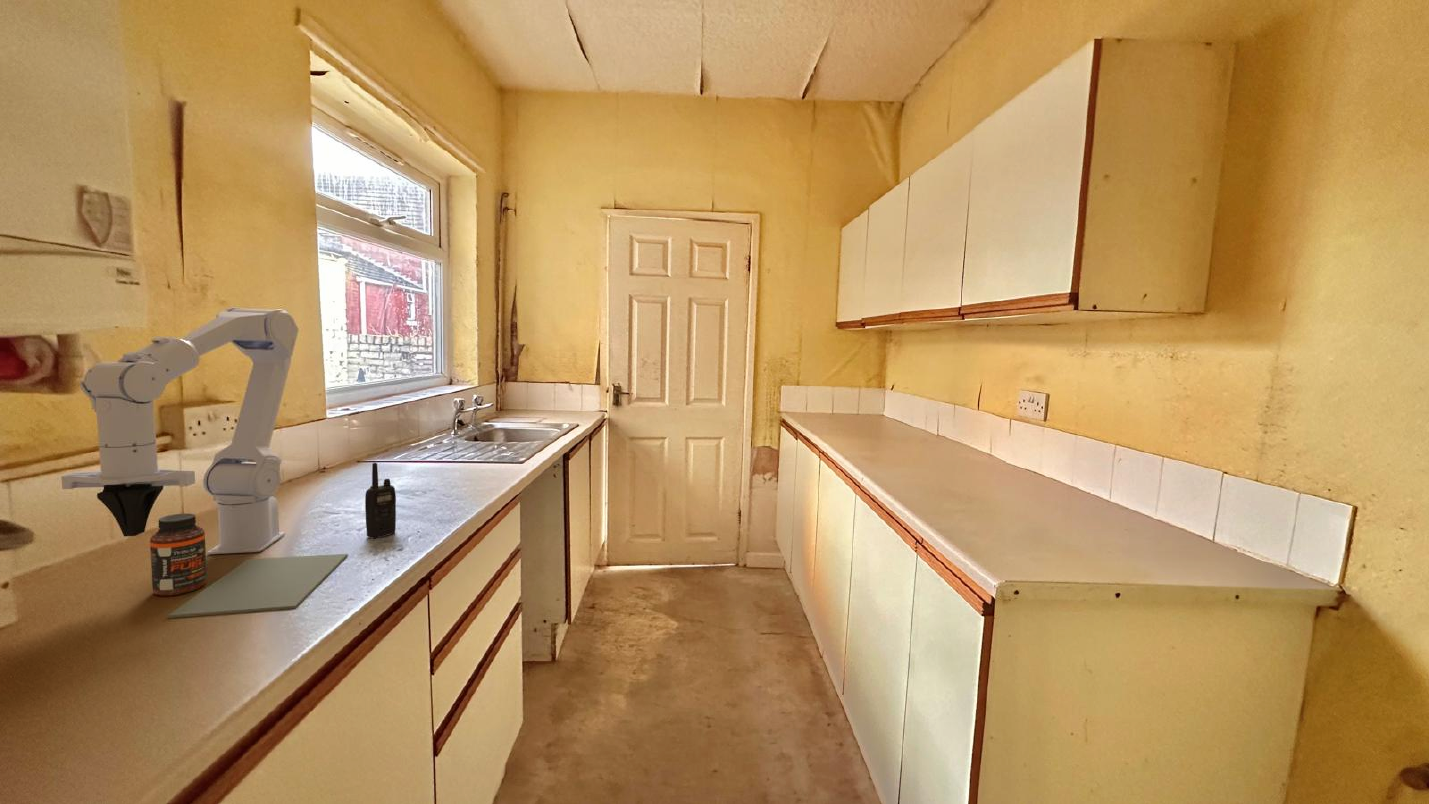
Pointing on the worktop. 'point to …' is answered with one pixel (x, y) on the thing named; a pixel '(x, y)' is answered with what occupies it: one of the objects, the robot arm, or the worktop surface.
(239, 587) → the mat
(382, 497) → the two-way radio
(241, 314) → the robot arm
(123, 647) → the worktop surface
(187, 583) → the supplement bottle
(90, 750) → the worktop surface
